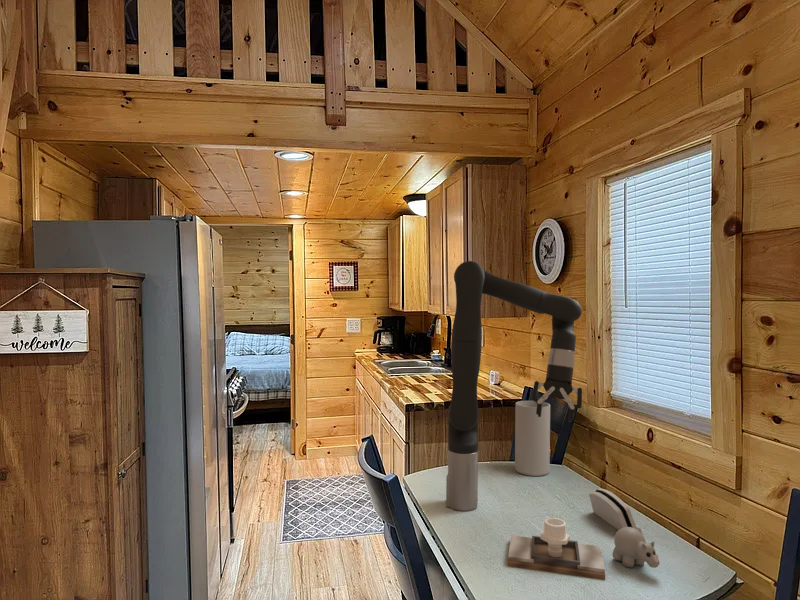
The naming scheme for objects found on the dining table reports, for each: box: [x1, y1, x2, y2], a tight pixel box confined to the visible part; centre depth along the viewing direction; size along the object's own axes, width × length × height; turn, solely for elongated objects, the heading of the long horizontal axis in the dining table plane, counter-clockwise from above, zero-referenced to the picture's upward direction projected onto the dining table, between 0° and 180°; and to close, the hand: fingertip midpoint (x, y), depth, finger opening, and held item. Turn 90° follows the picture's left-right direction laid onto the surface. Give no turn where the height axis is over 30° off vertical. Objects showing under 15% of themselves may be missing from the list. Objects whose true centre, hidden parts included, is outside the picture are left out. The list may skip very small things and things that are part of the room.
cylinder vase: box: [514, 400, 551, 477], centre depth 199 cm, size 12×12×25 cm
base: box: [507, 534, 606, 580], centre depth 133 cm, size 22×14×2 cm, turn 75°
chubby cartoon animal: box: [612, 527, 660, 569], centre depth 129 cm, size 7×12×8 cm, turn 20°
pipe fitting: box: [540, 517, 571, 557], centre depth 133 cm, size 6×7×8 cm
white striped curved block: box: [588, 488, 643, 534], centre depth 154 cm, size 17×5×10 cm, turn 11°
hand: (554, 419), depth 159 cm, fingers open, 8 cm apart
